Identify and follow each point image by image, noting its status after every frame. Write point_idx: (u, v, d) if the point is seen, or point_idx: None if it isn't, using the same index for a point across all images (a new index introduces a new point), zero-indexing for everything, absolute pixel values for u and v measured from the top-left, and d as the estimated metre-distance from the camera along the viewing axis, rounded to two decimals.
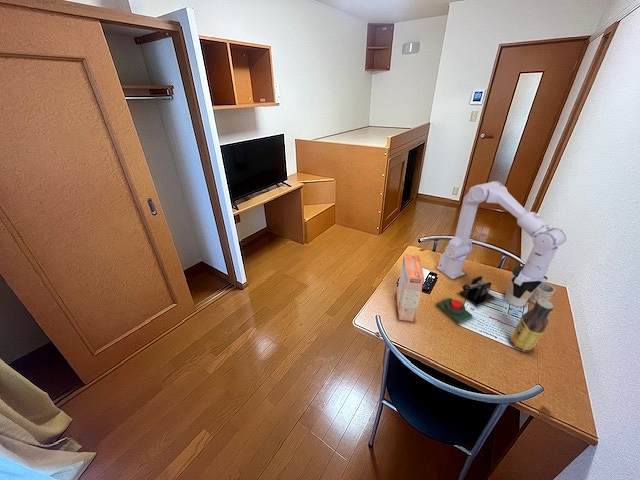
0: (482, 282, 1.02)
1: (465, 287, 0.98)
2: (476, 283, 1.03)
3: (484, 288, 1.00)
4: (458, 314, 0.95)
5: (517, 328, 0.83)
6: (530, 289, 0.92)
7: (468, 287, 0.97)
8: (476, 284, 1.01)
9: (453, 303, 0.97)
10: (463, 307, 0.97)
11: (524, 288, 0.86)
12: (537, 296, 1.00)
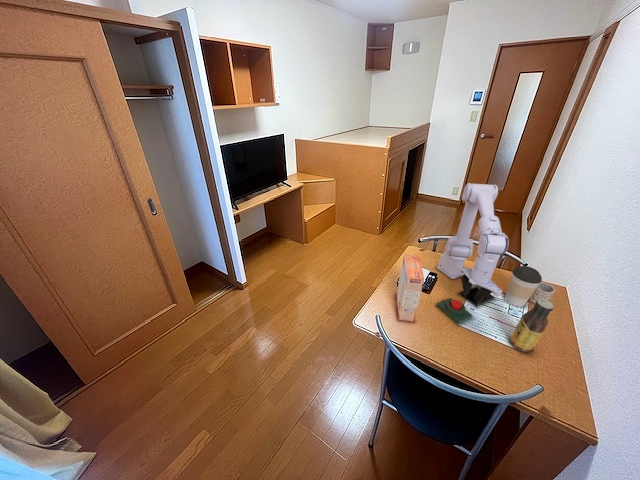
0: None
1: None
2: None
3: None
4: (458, 314, 0.95)
5: (517, 328, 0.83)
6: None
7: None
8: (476, 284, 1.01)
9: (453, 303, 0.97)
10: (463, 307, 0.97)
11: None
12: (537, 296, 1.00)
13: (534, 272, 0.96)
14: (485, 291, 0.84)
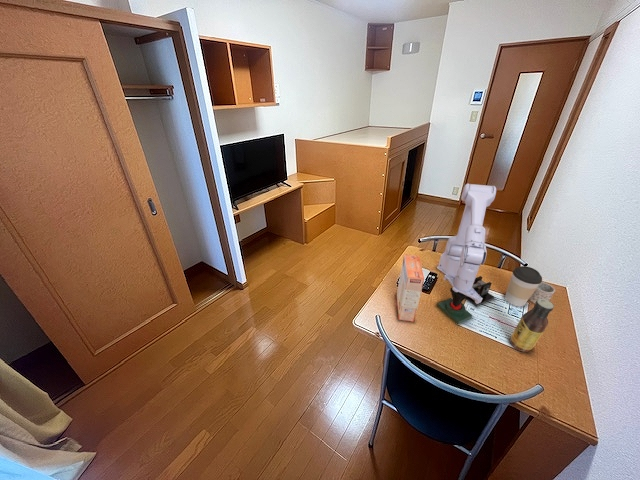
0: (482, 282, 1.02)
1: None
2: (476, 283, 1.03)
3: (484, 288, 1.00)
4: (458, 314, 0.95)
5: (517, 328, 0.83)
6: None
7: None
8: (476, 284, 1.01)
9: None
10: (463, 307, 0.97)
11: None
12: (537, 296, 1.01)
13: (534, 273, 0.96)
14: (462, 294, 0.92)
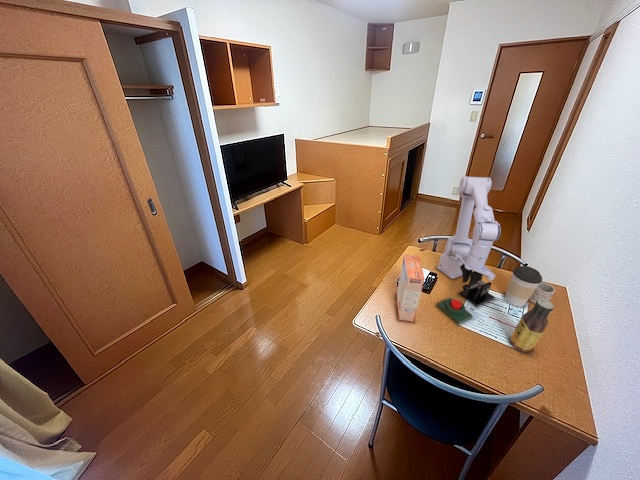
0: (482, 282, 1.02)
1: (465, 287, 0.98)
2: (476, 283, 1.03)
3: (484, 288, 1.00)
4: (458, 314, 0.95)
5: (517, 328, 0.83)
6: None
7: (468, 287, 0.97)
8: (476, 284, 1.01)
9: (453, 303, 0.97)
10: (463, 307, 0.97)
11: None
12: (537, 296, 1.00)
13: (534, 272, 0.96)
14: (476, 274, 0.91)
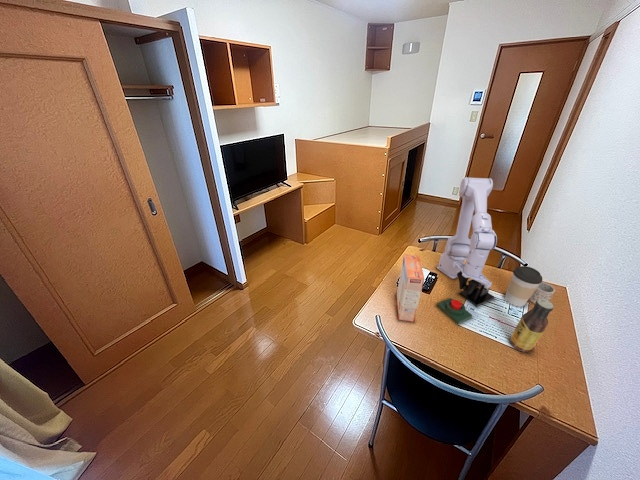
0: None
1: (465, 287, 0.98)
2: None
3: (484, 288, 1.00)
4: (458, 314, 0.95)
5: (517, 328, 0.83)
6: None
7: None
8: None
9: (453, 303, 0.97)
10: (463, 307, 0.97)
11: None
12: (537, 296, 1.00)
13: (535, 272, 0.96)
14: (474, 282, 0.93)
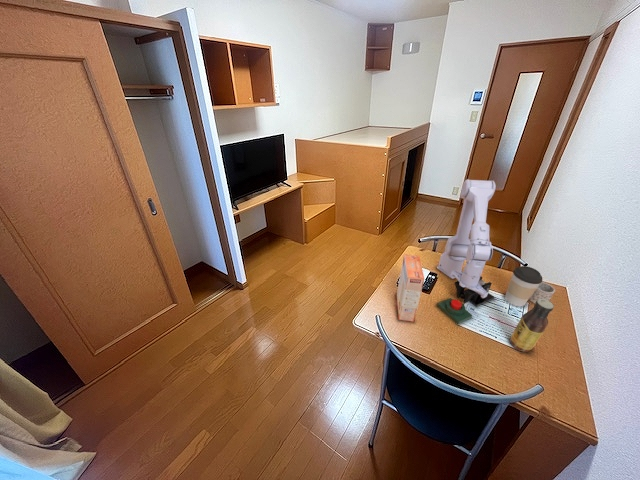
0: (481, 283, 1.02)
1: (462, 297, 1.00)
2: None
3: (484, 288, 1.00)
4: (458, 314, 0.95)
5: (517, 328, 0.83)
6: None
7: (464, 296, 1.00)
8: None
9: (453, 303, 0.97)
10: (463, 307, 0.97)
11: None
12: (537, 296, 1.00)
13: (535, 272, 0.96)
14: (471, 291, 0.95)
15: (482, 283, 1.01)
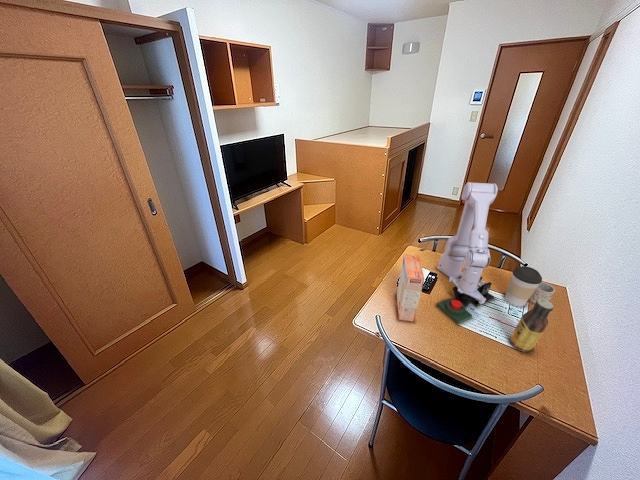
0: (481, 283, 1.02)
1: (461, 299, 1.01)
2: None
3: (484, 288, 1.00)
4: (458, 314, 0.95)
5: (517, 328, 0.83)
6: None
7: None
8: None
9: (453, 303, 0.97)
10: (463, 307, 0.97)
11: None
12: (537, 296, 1.00)
13: (534, 273, 0.96)
14: (469, 297, 0.97)
15: (482, 283, 1.01)
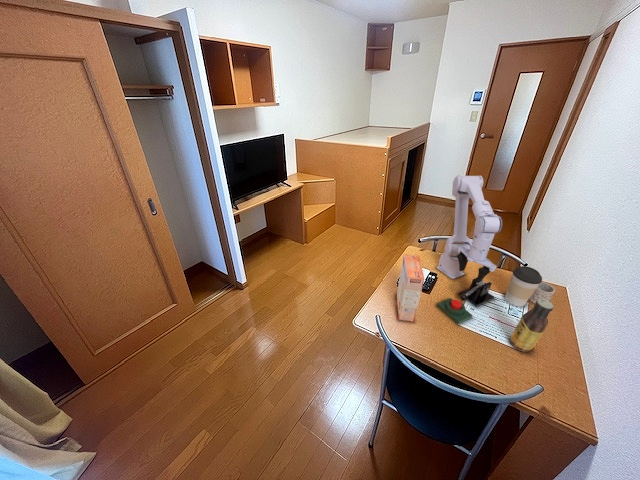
0: (481, 283, 1.02)
1: (461, 298, 1.01)
2: (476, 285, 1.03)
3: (484, 288, 1.00)
4: (458, 314, 0.95)
5: (517, 328, 0.83)
6: None
7: (464, 298, 1.00)
8: (474, 287, 1.02)
9: (453, 303, 0.97)
10: (463, 307, 0.97)
11: None
12: (537, 296, 1.00)
13: (534, 273, 0.96)
14: (485, 269, 0.93)
15: (482, 283, 1.01)
